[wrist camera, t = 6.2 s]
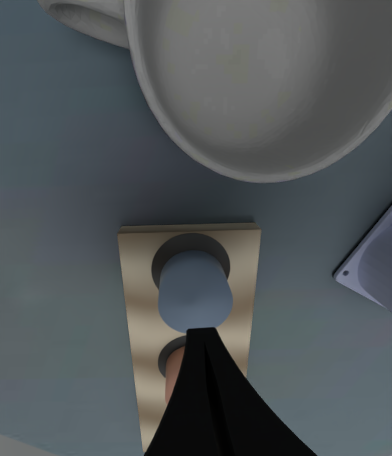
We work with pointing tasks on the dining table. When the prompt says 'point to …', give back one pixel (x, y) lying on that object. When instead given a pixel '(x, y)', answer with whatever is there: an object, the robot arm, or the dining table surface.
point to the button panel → (149, 291)
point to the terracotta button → (172, 371)
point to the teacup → (253, 75)
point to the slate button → (194, 292)
